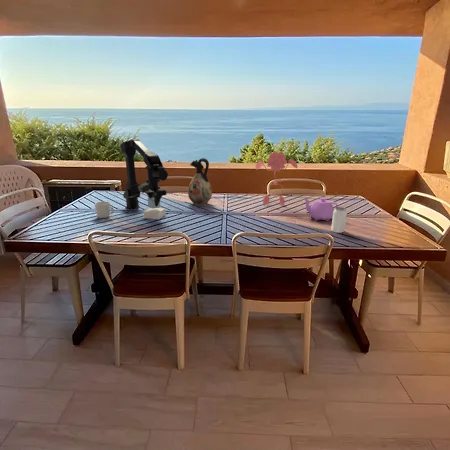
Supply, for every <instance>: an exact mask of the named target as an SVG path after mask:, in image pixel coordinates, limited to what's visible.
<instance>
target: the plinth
mask: <svg viewBox="0 0 450 450" xmlns="http://www.w3.org/2000/svg"><path fill="white" fill-rule="evenodd" d="M164 216H166V208H163V207H159V208H154V209H152V208H150V207H148V208H147V209H146V210H144V211H143V219H153V220H160V219H161V218H163V217H164Z"/></svg>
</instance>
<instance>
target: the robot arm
mask: <svg viewBox="0 0 450 450" xmlns="http://www.w3.org/2000/svg"><path fill="white" fill-rule="evenodd" d="M120 149H121V153H122V155H123V156H124V158H125V165H126V166H125V168H126V177H127V182H126V185H125V190H124V191H123V194H122V195H123V199H125V202H126V206H125V209H133V210H135V209H138V208H140V204H139V199H138V198H140V197H141V193H142V194H146V195H147V198H152V197H154V201H155V206H158V204H159V202H160V203H161V199H162V197H163V196H167V194H168V193H167V190H166V189H164V188H161V186H159V182H161V181H166V180H167V178H168V175H169V174H168V171H167V170H166V169H165V167H164V165H163V163H162V161H161V158H160V156H159V155H158V154H157V153H155V152H153V151H150V150H149V149H148V148H147V146H146V145H145V144H143V143H142V141H141V140H140V139H139V138H132V139H130V140H127V141H122V142H121V143H120ZM136 153H139V155H140V156H141V157H142V158H143V162H144V164H145V165H146V166H145V169H146V170H147V171H146V172H147V178H146V180H145V182H143V183H142V184H140V183H139V182H137V176H136V175H137V173H136V165H135V155H136Z"/></svg>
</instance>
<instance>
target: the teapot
mask: <svg viewBox="0 0 450 450" xmlns="http://www.w3.org/2000/svg"><path fill="white" fill-rule="evenodd" d="M303 199H304V200H305V210H306V211H307V213H308V214H309V215H310V217H311V218H313V219H314V221H315V220H317V221H316V222H319V221H318V220H321V221H325V222H330V220H331V219H333V211H334V209H335V208H336V207H339V204H338V203H336V202H335V201H330V200H329V199H328V200H327V198H325V197H320V199H316V200H314V202H313V203H311V205H310V202H309V199H307V198H305V197H304V198H303ZM333 205H335V207H334V206H333Z"/></svg>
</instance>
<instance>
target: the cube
mask: <svg viewBox="0 0 450 450" xmlns="http://www.w3.org/2000/svg"><path fill="white" fill-rule="evenodd" d="M147 207H148V208H152V209H154V208H161V201H160V202H159V204H158V206H155V201H154V197H152V198H149V197H147Z"/></svg>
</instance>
